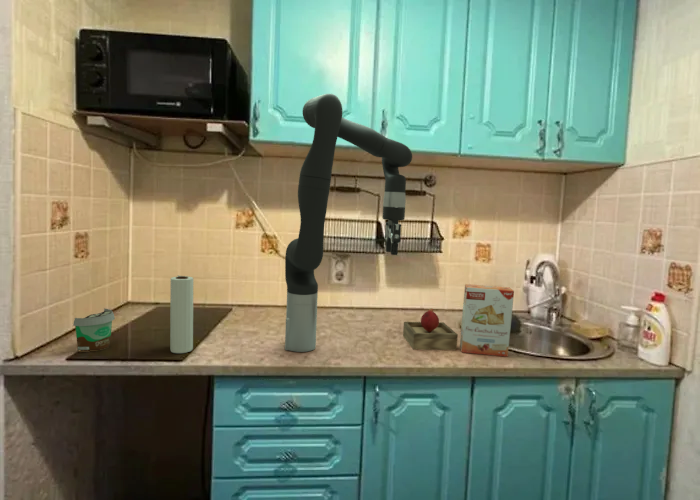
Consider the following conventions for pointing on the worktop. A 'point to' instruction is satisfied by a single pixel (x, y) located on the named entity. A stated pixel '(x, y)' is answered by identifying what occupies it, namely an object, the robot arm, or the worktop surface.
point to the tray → (430, 337)
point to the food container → (94, 330)
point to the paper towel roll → (181, 314)
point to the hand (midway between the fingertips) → (391, 253)
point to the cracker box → (486, 320)
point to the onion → (429, 320)
